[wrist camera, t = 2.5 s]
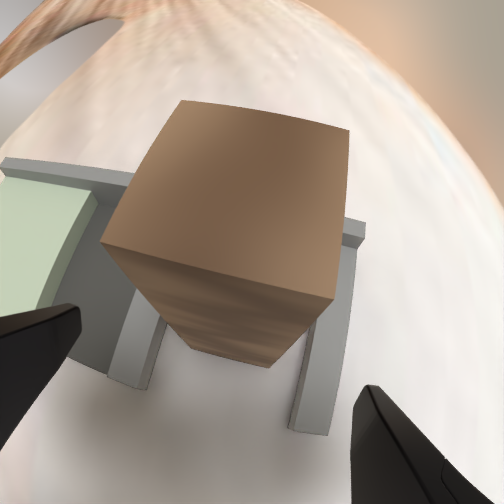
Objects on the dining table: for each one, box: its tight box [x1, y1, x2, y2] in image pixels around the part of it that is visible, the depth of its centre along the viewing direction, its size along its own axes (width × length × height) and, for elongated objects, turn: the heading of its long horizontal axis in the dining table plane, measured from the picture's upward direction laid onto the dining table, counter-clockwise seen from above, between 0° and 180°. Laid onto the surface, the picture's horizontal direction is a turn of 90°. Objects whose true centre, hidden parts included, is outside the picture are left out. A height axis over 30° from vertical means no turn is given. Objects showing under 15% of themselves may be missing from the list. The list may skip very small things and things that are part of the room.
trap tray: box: [0, 157, 366, 436], centre depth 19 cm, size 32×13×4 cm, turn 76°
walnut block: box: [100, 100, 349, 368], centre depth 13 cm, size 5×5×14 cm
